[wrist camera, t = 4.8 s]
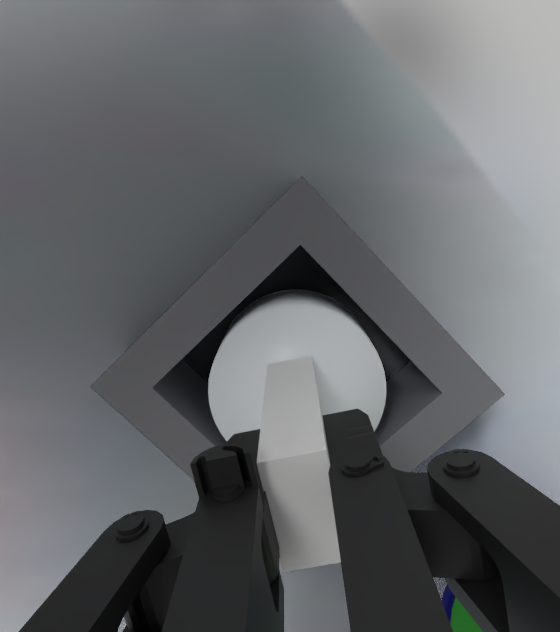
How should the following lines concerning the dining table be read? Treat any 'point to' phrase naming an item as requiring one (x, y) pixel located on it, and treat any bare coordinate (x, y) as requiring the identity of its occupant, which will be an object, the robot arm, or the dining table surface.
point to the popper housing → (358, 282)
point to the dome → (291, 343)
